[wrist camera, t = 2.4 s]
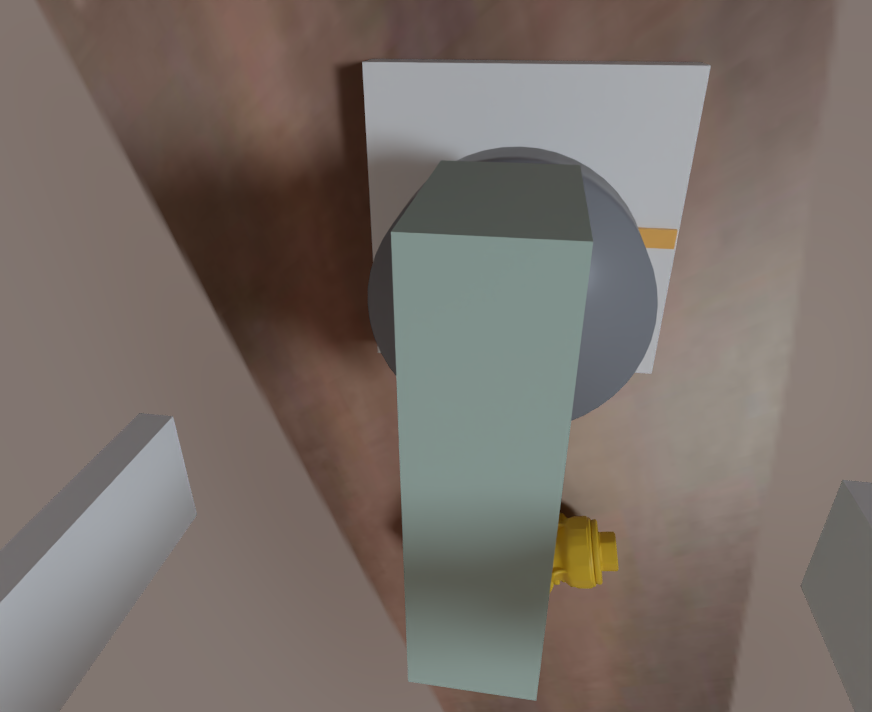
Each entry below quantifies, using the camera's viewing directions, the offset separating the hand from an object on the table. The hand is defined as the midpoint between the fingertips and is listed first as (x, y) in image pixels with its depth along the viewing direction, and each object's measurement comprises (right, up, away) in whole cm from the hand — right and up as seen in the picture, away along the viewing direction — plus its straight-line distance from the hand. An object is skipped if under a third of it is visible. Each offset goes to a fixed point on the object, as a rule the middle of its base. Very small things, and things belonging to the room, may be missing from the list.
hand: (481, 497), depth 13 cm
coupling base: (+3, +9, +15) cm, 18 cm away
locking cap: (+2, +5, +10) cm, 11 cm away
